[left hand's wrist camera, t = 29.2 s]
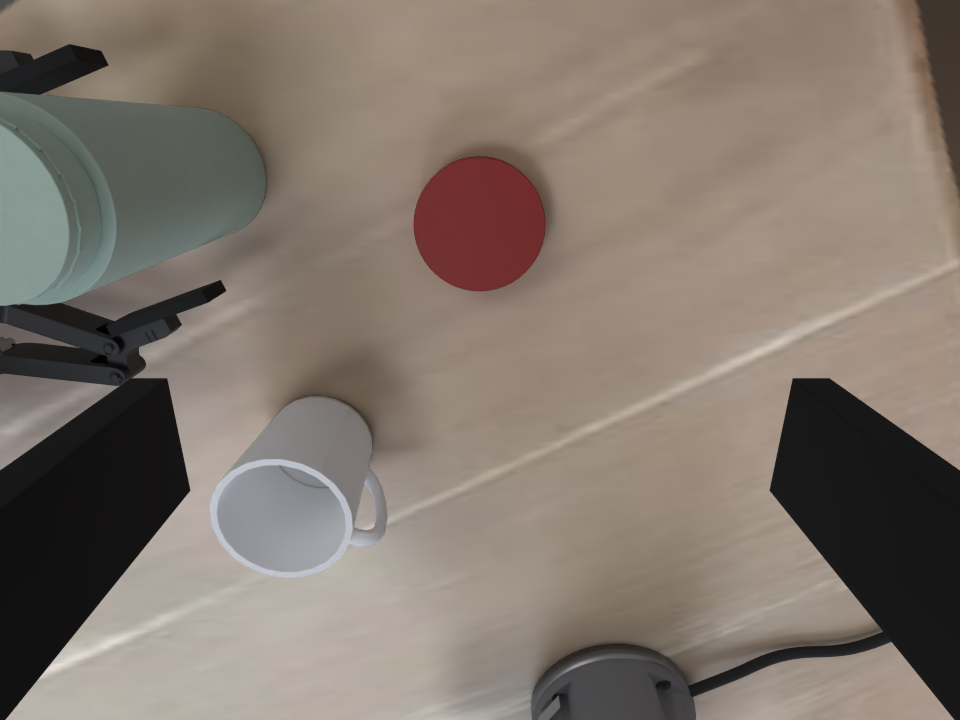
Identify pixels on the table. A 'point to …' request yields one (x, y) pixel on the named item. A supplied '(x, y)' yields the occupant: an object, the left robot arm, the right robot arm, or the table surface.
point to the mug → (299, 491)
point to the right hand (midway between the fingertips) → (157, 180)
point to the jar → (113, 190)
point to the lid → (479, 224)
